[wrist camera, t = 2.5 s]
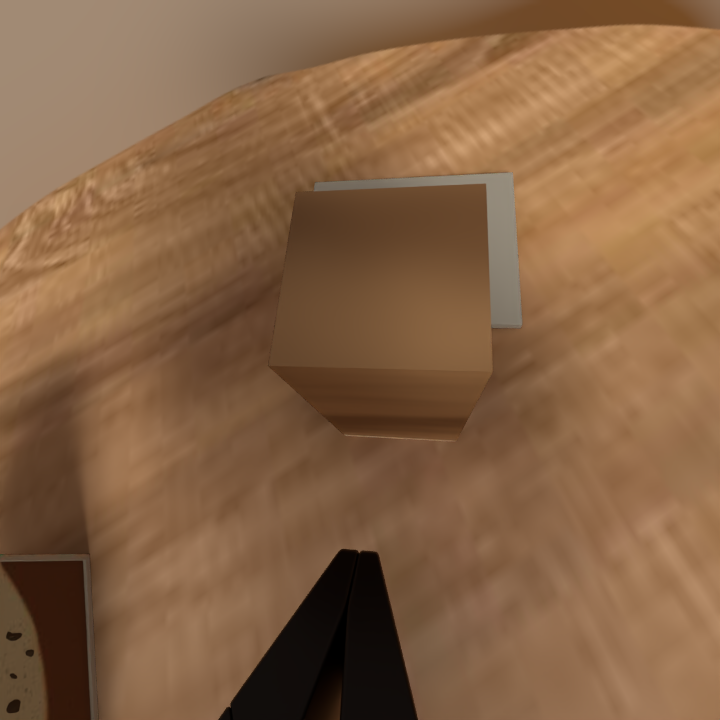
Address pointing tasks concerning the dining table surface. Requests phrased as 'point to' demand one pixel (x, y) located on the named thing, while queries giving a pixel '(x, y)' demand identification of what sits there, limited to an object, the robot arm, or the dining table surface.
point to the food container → (47, 638)
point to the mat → (499, 234)
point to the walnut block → (387, 308)
